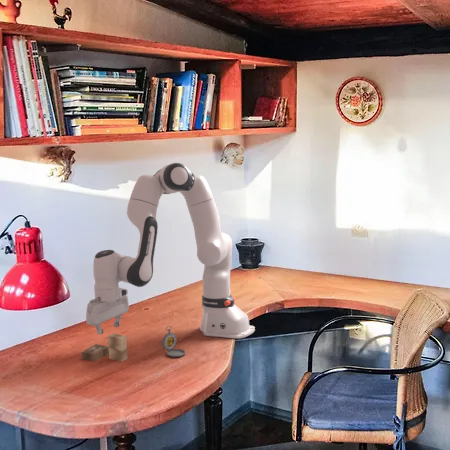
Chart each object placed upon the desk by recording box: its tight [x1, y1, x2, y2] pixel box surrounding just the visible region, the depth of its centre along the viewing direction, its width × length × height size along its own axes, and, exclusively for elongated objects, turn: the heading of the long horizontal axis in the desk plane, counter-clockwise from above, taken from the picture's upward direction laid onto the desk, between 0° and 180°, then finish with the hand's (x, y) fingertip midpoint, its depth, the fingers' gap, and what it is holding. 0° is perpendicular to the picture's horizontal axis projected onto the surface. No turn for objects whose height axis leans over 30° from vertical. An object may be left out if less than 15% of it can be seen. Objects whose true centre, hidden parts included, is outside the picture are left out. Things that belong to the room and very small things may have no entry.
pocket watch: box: [161, 325, 186, 358], centre depth 225 cm, size 8×8×10 cm
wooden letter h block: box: [80, 343, 109, 362], centre depth 225 cm, size 6×3×8 cm
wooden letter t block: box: [107, 333, 128, 362], centre depth 222 cm, size 6×3×8 cm, turn 60°
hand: (108, 330), depth 231 cm, fingers open, 8 cm apart
